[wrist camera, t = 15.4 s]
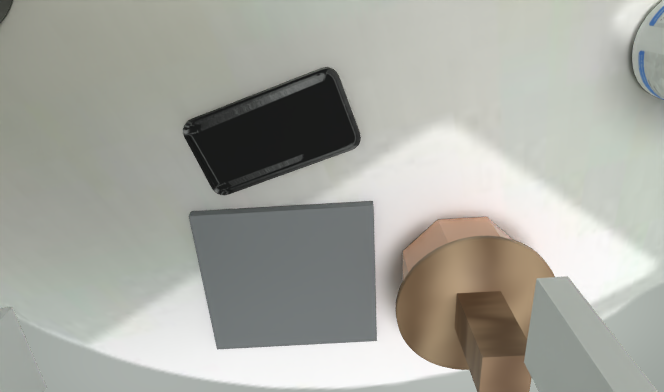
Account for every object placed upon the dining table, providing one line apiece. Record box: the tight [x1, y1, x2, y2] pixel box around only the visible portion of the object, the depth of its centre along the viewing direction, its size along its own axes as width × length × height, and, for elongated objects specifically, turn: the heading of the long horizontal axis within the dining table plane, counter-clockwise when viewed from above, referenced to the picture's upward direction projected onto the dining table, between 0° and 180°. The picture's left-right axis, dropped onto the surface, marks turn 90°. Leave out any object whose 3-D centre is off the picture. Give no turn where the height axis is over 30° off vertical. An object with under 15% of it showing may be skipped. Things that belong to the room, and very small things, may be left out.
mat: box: [189, 201, 377, 349], centre depth 50 cm, size 18×17×1 cm
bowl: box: [402, 217, 511, 282], centre depth 48 cm, size 12×12×6 cm
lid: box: [396, 236, 555, 392], centre depth 41 cm, size 15×15×9 cm
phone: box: [183, 67, 361, 195], centre depth 44 cm, size 8×1×15 cm
